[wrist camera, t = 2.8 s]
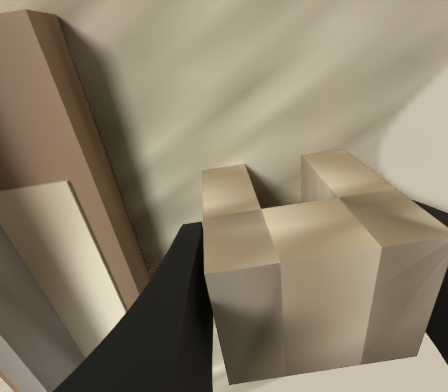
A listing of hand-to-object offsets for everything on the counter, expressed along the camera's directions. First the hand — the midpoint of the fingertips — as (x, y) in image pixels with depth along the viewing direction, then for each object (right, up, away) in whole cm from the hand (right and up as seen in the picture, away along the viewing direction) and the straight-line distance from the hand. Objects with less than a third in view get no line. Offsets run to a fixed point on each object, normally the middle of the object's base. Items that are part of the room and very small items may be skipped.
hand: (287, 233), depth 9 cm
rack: (-9, -1, +2) cm, 9 cm away
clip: (0, +1, +1) cm, 2 cm away
